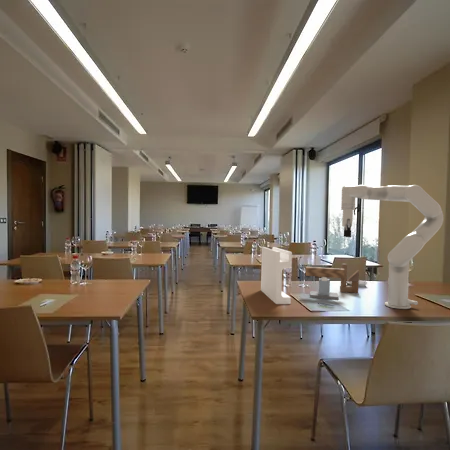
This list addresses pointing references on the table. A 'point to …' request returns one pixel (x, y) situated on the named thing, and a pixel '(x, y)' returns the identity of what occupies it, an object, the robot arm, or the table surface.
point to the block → (274, 273)
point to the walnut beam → (325, 272)
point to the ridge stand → (324, 290)
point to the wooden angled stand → (352, 278)
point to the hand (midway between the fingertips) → (347, 236)
